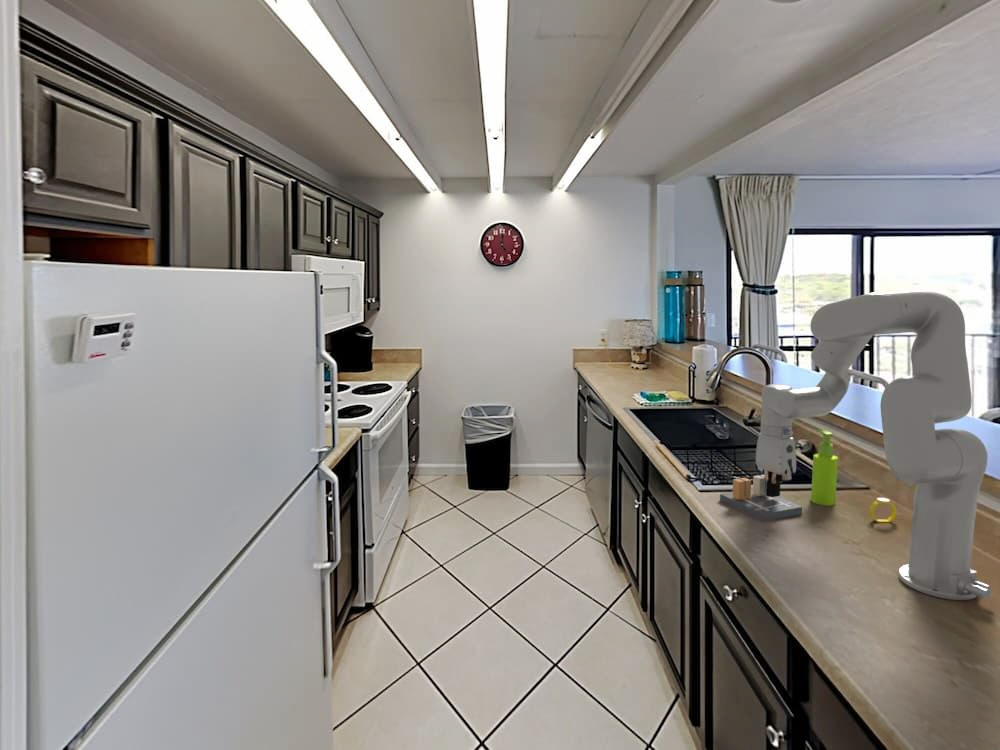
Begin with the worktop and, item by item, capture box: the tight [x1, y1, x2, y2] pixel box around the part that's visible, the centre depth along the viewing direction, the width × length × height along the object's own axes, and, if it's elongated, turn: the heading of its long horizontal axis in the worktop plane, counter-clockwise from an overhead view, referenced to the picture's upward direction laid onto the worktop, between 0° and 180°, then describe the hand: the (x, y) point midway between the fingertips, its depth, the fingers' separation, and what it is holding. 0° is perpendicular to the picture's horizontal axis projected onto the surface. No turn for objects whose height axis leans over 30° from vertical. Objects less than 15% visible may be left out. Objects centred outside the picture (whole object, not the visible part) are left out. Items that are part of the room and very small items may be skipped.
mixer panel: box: [719, 488, 803, 522], centre depth 153 cm, size 16×13×2 cm
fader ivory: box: [752, 474, 767, 496], centre depth 156 cm, size 2×4×5 cm, turn 108°
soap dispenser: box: [810, 429, 839, 507], centre depth 154 cm, size 6×7×20 cm
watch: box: [868, 497, 898, 524], centre depth 141 cm, size 6×3×6 cm, turn 85°
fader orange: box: [732, 477, 752, 500], centre depth 154 cm, size 2×4×5 cm, turn 108°
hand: (773, 495), depth 153 cm, fingers closed
